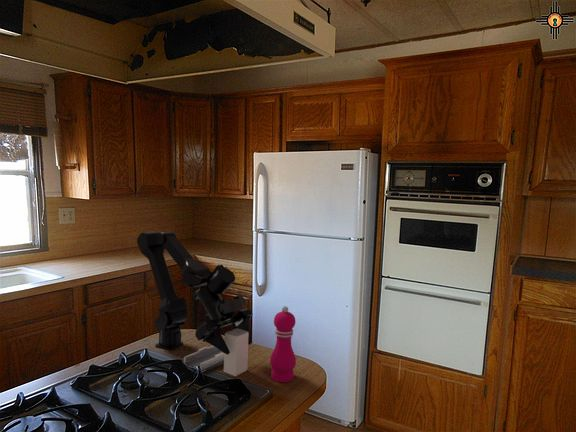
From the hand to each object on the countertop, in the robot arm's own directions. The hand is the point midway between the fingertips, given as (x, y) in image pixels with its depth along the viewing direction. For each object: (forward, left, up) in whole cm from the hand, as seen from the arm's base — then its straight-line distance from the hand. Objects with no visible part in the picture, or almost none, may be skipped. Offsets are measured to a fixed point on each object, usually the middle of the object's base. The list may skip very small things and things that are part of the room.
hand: (239, 348), depth 111 cm
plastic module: (-1, 0, -7) cm, 7 cm away
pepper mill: (+12, +3, -7) cm, 14 cm away
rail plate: (-11, +2, -7) cm, 13 cm away
